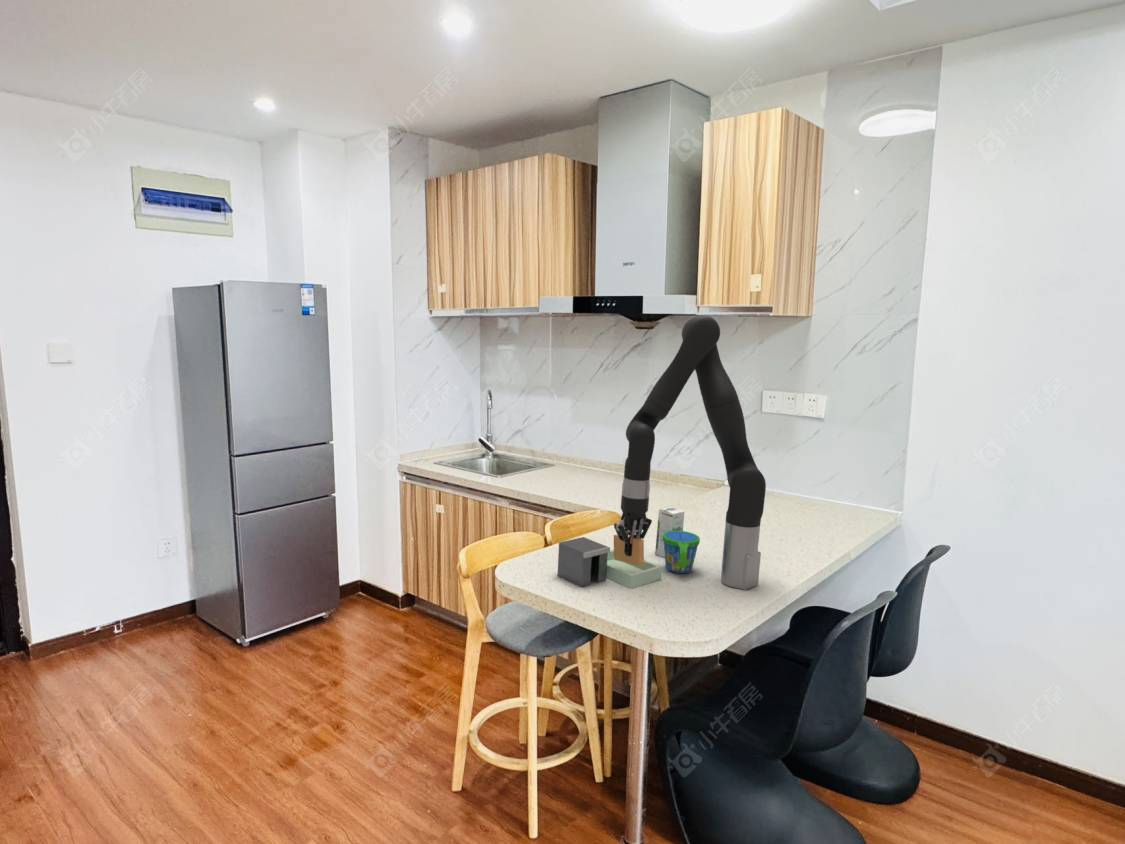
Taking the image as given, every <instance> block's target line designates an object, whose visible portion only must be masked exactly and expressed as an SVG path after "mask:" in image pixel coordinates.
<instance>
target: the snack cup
mask: <svg viewBox="0 0 1125 844" xmlns="http://www.w3.org/2000/svg"><path fill="white" fill-rule="evenodd" d="M700 540H701V538H700V536H699V535H697V534H695V533H693V532H690V531H685V530H683V531H667V532H665V533H664V534H663V541H664V552H665V557H664V562H665V563H664V564H665V568H666V569H667V570H668V571H669V572H672V573H675V574H688V573H691V572H692V570H693V567H694V563H695V559H696V555H697V551H698V546H699V544H700V542H701V541H700Z"/></svg>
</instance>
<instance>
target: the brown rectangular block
mask: <svg viewBox="0 0 1125 844" xmlns="http://www.w3.org/2000/svg"><path fill="white" fill-rule="evenodd" d="M628 538H629V536H628ZM644 541H645V540H644V539H638V538H633V543H632V555H631V556H627V555H625V553H624V550H625V549H624V548H625V542H624V541H621V540H620V539H619V537H618V535H617V534H614V535H613V549H614V560H618V561H622V562H626V563H630V564H634V565H638V566H642V565H644V560H645V549H644V548H645V544H644V543H645V542H644Z"/></svg>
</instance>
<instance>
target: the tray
mask: <svg viewBox="0 0 1125 844" xmlns="http://www.w3.org/2000/svg"><path fill="white" fill-rule="evenodd" d="M662 570H663V567H662V566H661V565H658V564H656V563H653V562H651V561H647V560H645V559H644V565H642V566H638V565H634V564H630V563H626V562H622V561H618V560H614V548H613V549H610V552H608V557H607V574H606V579H609V580H612V581H613V582H616V583H618V584H620V585H622V586H624V587H627V588H629V589H634V588H638V587H640V586H644V585H647V584H650V583H652V582H657V581H658V580H662Z"/></svg>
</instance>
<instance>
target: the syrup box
mask: <svg viewBox="0 0 1125 844" xmlns="http://www.w3.org/2000/svg"><path fill="white" fill-rule="evenodd" d="M685 512H686V511H684V510H682V509H680V508H677V507H674V506H673V507H672V506H668V507H665V508H661V509H658V515H657V517H658V519H657V529H656V539H655V552H654V554H655V555H656V556H659V557H662V558H665V552H664V541H663V534H664V533H665V532H667V531H684V523H685Z"/></svg>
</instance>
